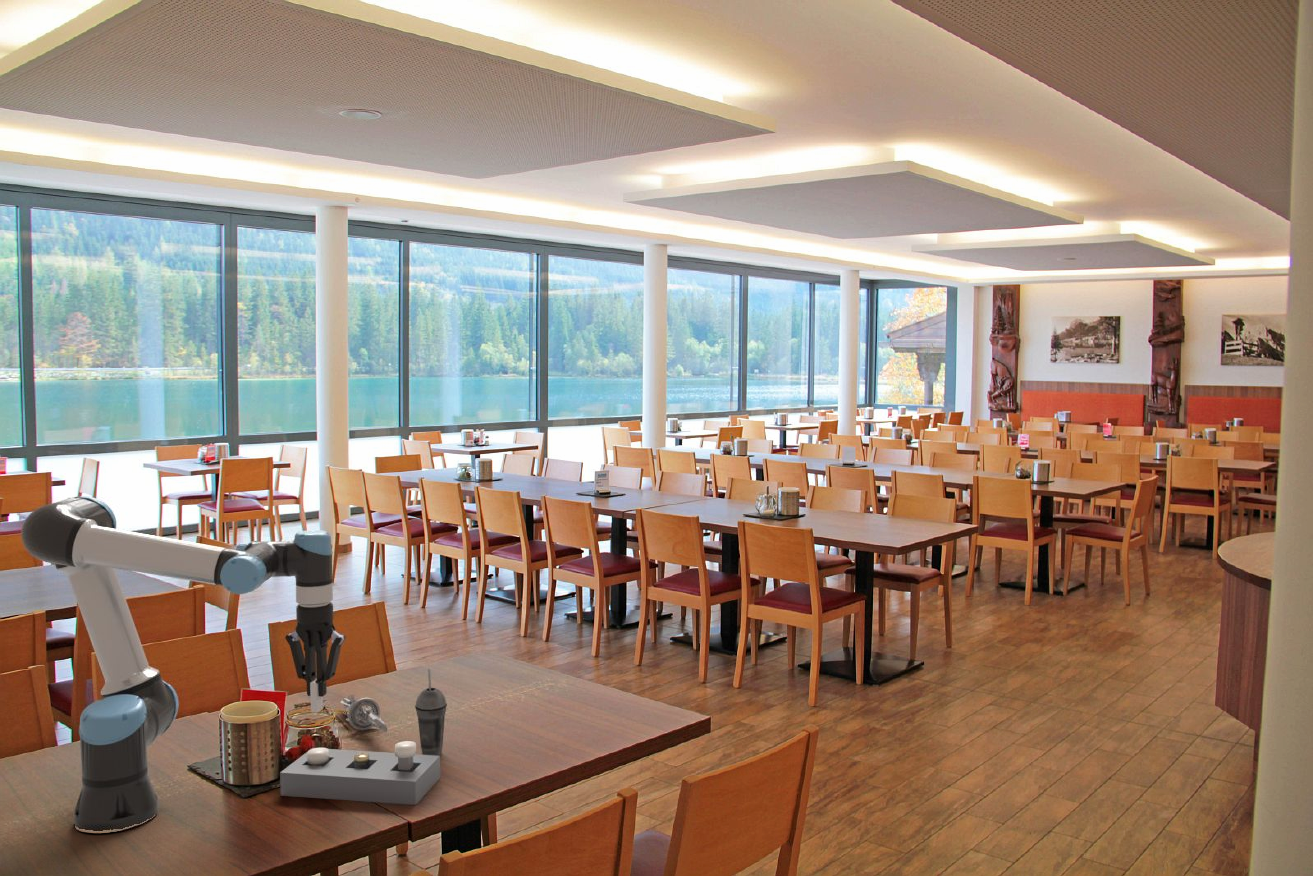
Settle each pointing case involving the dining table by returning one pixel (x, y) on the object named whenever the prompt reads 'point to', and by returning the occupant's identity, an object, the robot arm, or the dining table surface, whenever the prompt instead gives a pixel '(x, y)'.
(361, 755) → the pot knob
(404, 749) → the right knob
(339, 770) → the console
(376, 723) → the spaceship
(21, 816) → the dining table surface
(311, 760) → the left knob
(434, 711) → the beverage cup
